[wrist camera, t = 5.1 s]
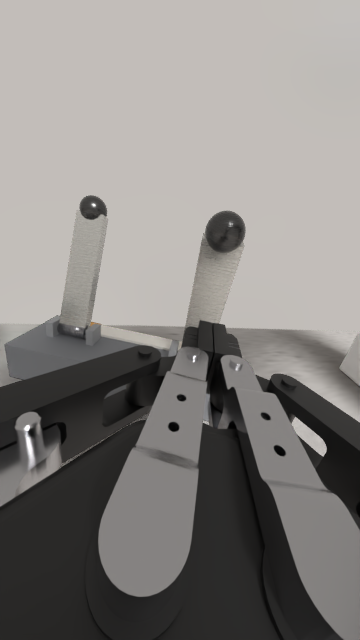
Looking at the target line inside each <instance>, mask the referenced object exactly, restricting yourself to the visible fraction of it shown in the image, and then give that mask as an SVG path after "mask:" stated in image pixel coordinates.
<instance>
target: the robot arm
mask: <svg viewBox="0 0 360 640" xmlns="http://www.w3.org/2000/svg"><path fill="white" fill-rule="evenodd" d="M124 385H126V389H124V390H122V391H120V392H118V393H115V394H113V395H111V396H109V397H107V398H105V396H106V395H107V394H108V393H109V392H111V391H112V390H114V389H117V388H119V387H121V386H124ZM206 394H210V399H209V402H208V406H207V409H208V419H209V425H207V424H205V423H203V415H204V406H205V398H206ZM149 411H150V413H149V416H148V418H147V420H142V421H138V422H135V423H132V424H130V425H128V424H129V423H131V422H133V421H135V420H136V419H138V418H140V417H141V416H143V415H145V414H146V413H148V412H149ZM295 416H296V417H297V418H298V419H299V420H300V421H302V422H303V423H304V424H305V425H307V426H308V427H309V428H310V429H311V430H313V431H314V432H315V433H316V434H317V435H319V436H320V437H321V438H322V439H323V440H324V442H325V444H326V447H327V452H326V454H325V455H324V457H323V456H321V455H319V454H318V453H317V452H316V451H315V450H314V449H313V448H311V447H310V446H309V445H308V444H307V443H306V442H305V441H304V440H302V439H301V438H300V437H299V436H298V435H297V434H296V432H295V430H294V428H293V426H292V425H291V423H292V421H293V419H294V418H295ZM126 425H128V426H126ZM124 426H126V427H124ZM123 427H124V428H123ZM121 428H123V429H121ZM119 429H121V430H120V431H118V430H119ZM116 431H118V432H116ZM114 432H116V433H115V434H113V433H114ZM111 434H113V435H112V436H110V437H109V438H107V439H105V440H104V441H102V442H101V443H99V444H98V445H96V446H94V447H93V448H91V449H90V450H88V451H87V452H85V453H83V454H82V455H80V456H79V457H77V458H76V459H74V460H72V461H71V462H69V463H68V464H66V465H65V466H63V467H61V464H62V463H63V462H65V461H67V460H68V459H70V458H72V457H74V456H75V455H77V454H79V453H80V452H82V451H84V450H85V449H87V448H89V447H90V446H92V445H94V444H96V443H97V442H99V441H101V440H102V439H104V438H106V437H107V436H109V435H111ZM60 467H61V468H60ZM0 640H360V423H359V422H358V421H356V420H355V419H353V418H352V417H351V416H349V415H348V414H346V413H345V412H343V411H342V410H340V409H339V408H337V407H336V406H334V405H333V404H331V403H330V402H328V401H327V400H325V399H324V398H323V397H321V396H320V395H318V394H317V393H315V392H314V391H312V390H311V389H309V388H308V387H306V386H305V385H303V384H302V383H300V382H299V381H297V380H296V379H294V378H292V377H290V376H287V375H284V374H274V375H272V376H271V379H270V381H269V380H267V379H264V378H262V377H259V376H257V375H255V373H254V371H253V369H252V367H251V365H250V364H249V363H248V362H247V361H246V360H244V359H243V358H242V355H241V352H240V349H239V345H238V341H237V339H236V338H235V337H234V336H233V335H232V334H227V333H226V328H225V325H223V324H218V323H212V322H208V321H203V320H200V321H199V325H198V328H197V327H193V326H189V327H187V328H186V329H185V332H184V337H183V341H182V346H181V349H179V351H178V353H177V355H175V356H171V357H161V353H160V351H159V350H158V349H156V348H154V347H152V346H147V345H138V346H134V347H131V348H128V349H124V350H121V351H118V352H114V353H111V354H108V355H105V356H101V357H98V358H95V359H91V360H88V361H85V362H81V363H78V364H75V365H72V366H68V367H65V368H62V369H58V370H55V371H52V372H48V373H45V374H42V375H39V376H35V377H32V378H29V379H25V380H22V381H19V382H15V383H12V384H9V385H6V386H2V387H0Z"/></svg>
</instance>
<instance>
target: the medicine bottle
mask: <svg viewBox="0 0 360 640" xmlns="http://www.w3.org/2000/svg"><path fill="white" fill-rule="evenodd" d="M339 369H340V370H341V371H342V372H344V373H345V374H346V375H347V376H348V377H349V378H350V379H352V380H353V381H354V382H355V383H356V384H357V385H359V386H360V334H358V335H357V336H356V338H355V340H354V342H353V344H352V346H351V347H350V349H349V351H348V353H347V355H346V356H345V358H344V360H343V362H342V364H341V365H340V367H339Z"/></svg>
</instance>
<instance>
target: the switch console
mask: <svg viewBox="0 0 360 640" xmlns="http://www.w3.org/2000/svg"><path fill="white" fill-rule="evenodd" d="M59 322H60V316H58V315H57V316H55V317H53V318H51V319H50V320H48V321H46V322H45V323H43V324H41V325H39V326H38V327H36V328H34V329H32V330H30V331H28V332H26V333H25V334H23V335H21V336H19V337H17V338H15V339H14V340H12V341H10V342H8V343H6V344H4V345H5V351H6V357H7V363H8V369H9V375H10V377H14V378H19V379H23V380H25V379H29V378H32V377H35V376H39V375H42V374H45V373H48V372H52V371H55V370H58V369H62V368H65V367H68V366H72V365H75V364H78V363H81V362H85V361H88V360H91V359H95V358H98V357H101V356H105V355H108V354H111V353H114V352H118V351H121V350H124V349H128V348H131V347H134V346H138V345H147V346H152V347H154V348H156V349H158V350H159V351H160V353H161V357H171V356H175V355H177V353H178V351H179V349H181V346H182V342H181V341H177V340H172V339H167V338H162V337H158V336H153V335H148V334H143V333H138V332H134V331H129V330H124V329H119V328H115V327H110V326H105V325H101V324H98V323H94V322H91V324H90V327H89V328H88V329H86V339H83V338H78V337H73V336H69V335H64V334H59V333H58V330H57V328H58V324H59ZM124 389H126V385H124V386H121V387H119V388H117V389H114V390H112V391H111V392H109V393H108V394H107V395H106V396H105V398H107V397H109V396H111V395H113V394H115V393H118V392H120V391H122V390H124ZM209 399H210V394H206V398H205V406H204V415H203V420H205V421H209V419H208V409H207V406H208V402H209Z"/></svg>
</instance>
